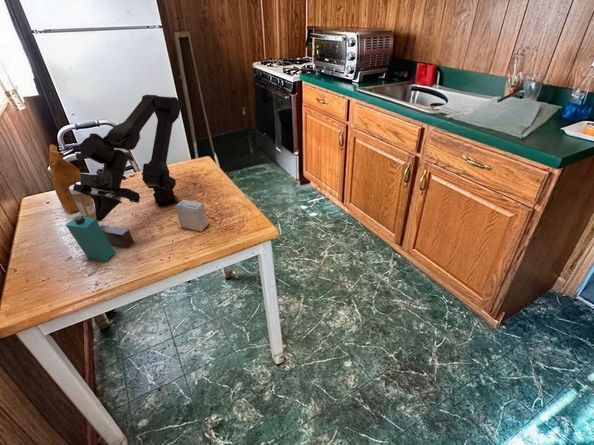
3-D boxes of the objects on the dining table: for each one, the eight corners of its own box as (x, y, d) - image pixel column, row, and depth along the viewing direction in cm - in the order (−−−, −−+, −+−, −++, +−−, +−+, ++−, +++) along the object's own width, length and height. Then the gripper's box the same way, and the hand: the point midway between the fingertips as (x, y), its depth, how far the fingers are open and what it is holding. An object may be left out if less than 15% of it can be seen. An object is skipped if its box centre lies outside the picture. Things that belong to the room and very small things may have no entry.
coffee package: (89, 193, 130) (66, 139, 117) (97, 206, 122) (73, 149, 109) (60, 202, 124) (33, 146, 112) (67, 215, 116) (38, 157, 104)
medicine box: (208, 224, 110) (204, 202, 105) (201, 232, 107) (196, 209, 102) (188, 220, 112) (183, 198, 107) (180, 228, 109) (174, 205, 104)
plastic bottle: (105, 228, 102) (68, 212, 89) (123, 231, 100) (88, 215, 87) (92, 259, 99) (52, 247, 86) (110, 263, 97) (72, 251, 84)
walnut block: (107, 237, 105) (102, 224, 102) (134, 242, 103) (129, 229, 100) (100, 243, 103) (94, 230, 100) (127, 248, 100) (122, 234, 98)
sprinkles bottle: (100, 221, 113) (85, 186, 106) (85, 225, 111) (68, 190, 104) (98, 215, 116) (83, 181, 109) (83, 219, 114) (68, 185, 107)
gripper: (64, 156, 92) (47, 209, 89) (120, 162, 88) (103, 219, 85) (96, 170, 103) (81, 218, 100) (147, 176, 98) (133, 227, 96)
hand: (98, 220), depth 95 cm, fingers closed
